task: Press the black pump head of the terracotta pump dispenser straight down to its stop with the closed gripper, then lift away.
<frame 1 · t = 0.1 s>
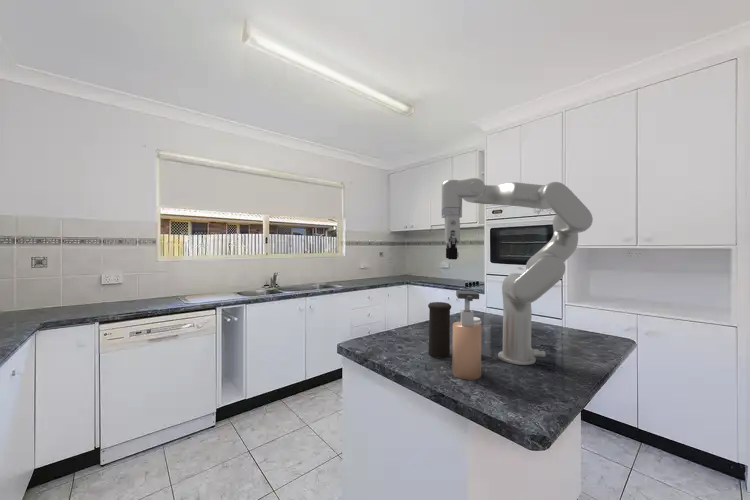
hand: (451, 258, 120), 37 cm above the countertop, tool pointing down, fingers open, 9 cm apart
pump head: (467, 303, 101), point 23 cm above the countertop, slide at 0.0 cm
container: (439, 355, 121), on the countertop
paper cup: (470, 355, 121), on the countertop
pump dispenser: (466, 373, 103), on the countertop
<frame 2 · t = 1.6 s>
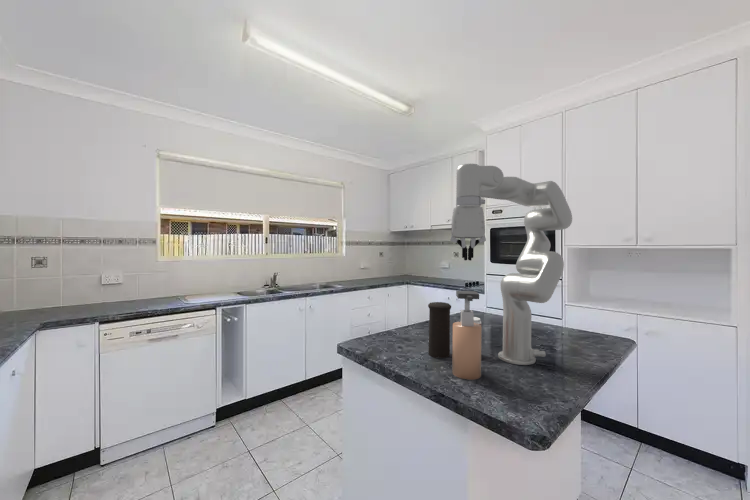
hand: (467, 260, 103), 37 cm above the countertop, tool pointing down, fingers closed
nothing on the countertop moved.
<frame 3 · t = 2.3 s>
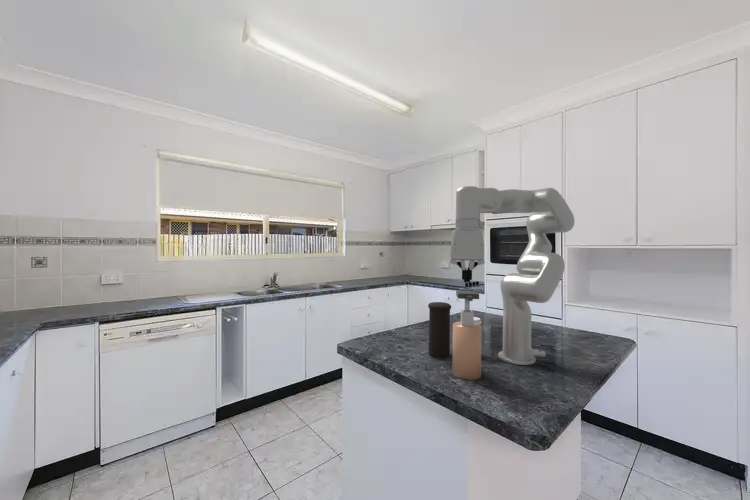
hand: (466, 282, 103), 30 cm above the countertop, tool pointing down, fingers closed
nothing on the countertop moved.
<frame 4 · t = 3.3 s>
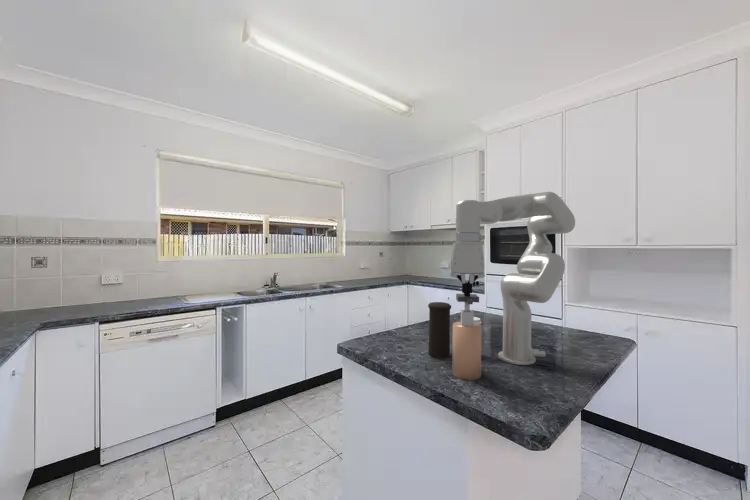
hand: (466, 295, 103), 26 cm above the countertop, tool pointing down, fingers closed
pump head: (467, 306, 101), point 22 cm above the countertop, slide at 1.0 cm, touching gripper
everything else where it was.
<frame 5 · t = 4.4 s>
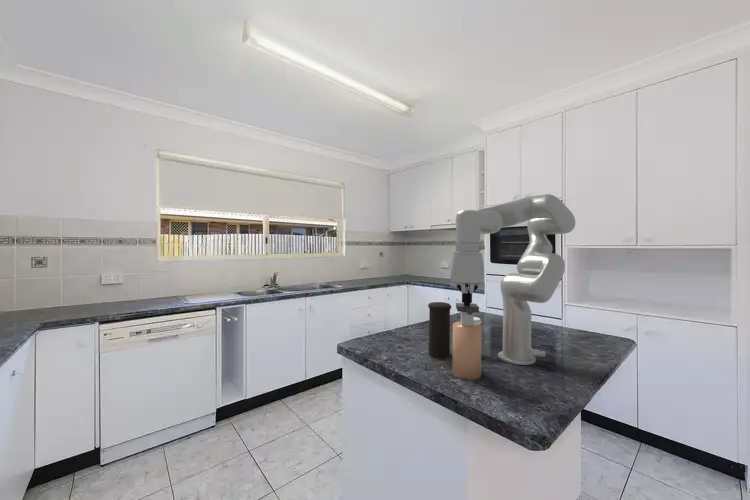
hand: (466, 305, 103), 22 cm above the countertop, tool pointing down, fingers closed
pump head: (467, 316, 101), point 19 cm above the countertop, slide at 4.1 cm, touching gripper
everything else where it was.
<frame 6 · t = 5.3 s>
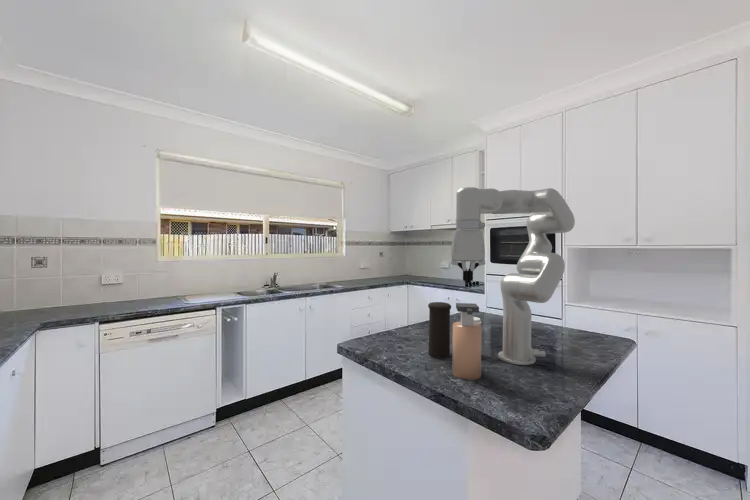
hand: (467, 282, 103), 30 cm above the countertop, tool pointing down, fingers closed
pump head: (467, 316, 101), point 19 cm above the countertop, slide at 4.1 cm
everything else where it was.
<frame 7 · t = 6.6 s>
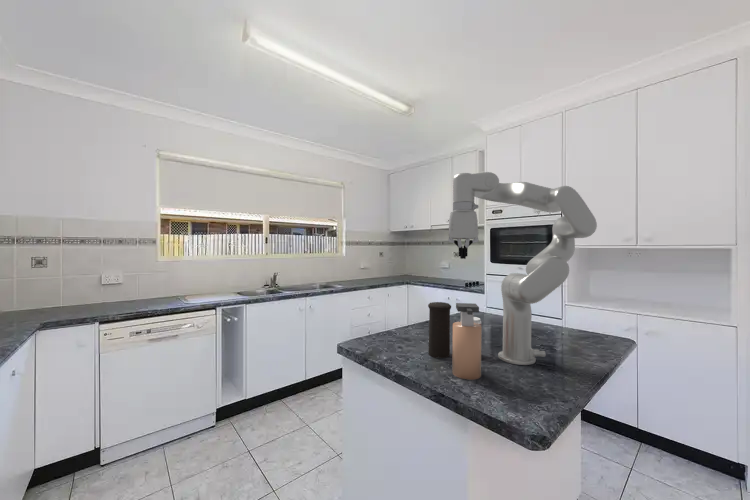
hand: (462, 258, 115), 37 cm above the countertop, tool pointing down, fingers closed
nothing on the countertop moved.
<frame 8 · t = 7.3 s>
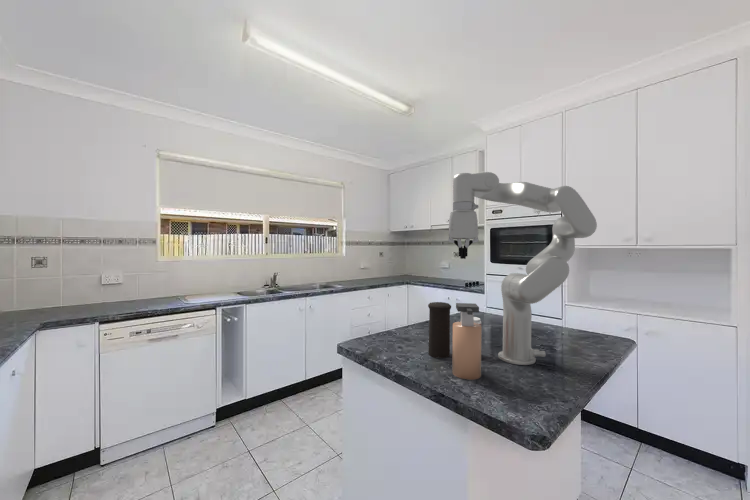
hand: (462, 258, 115), 37 cm above the countertop, tool pointing down, fingers closed
nothing on the countertop moved.
at the end: pump head slide at 4.1 cm; the gripper is holding nothing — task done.
